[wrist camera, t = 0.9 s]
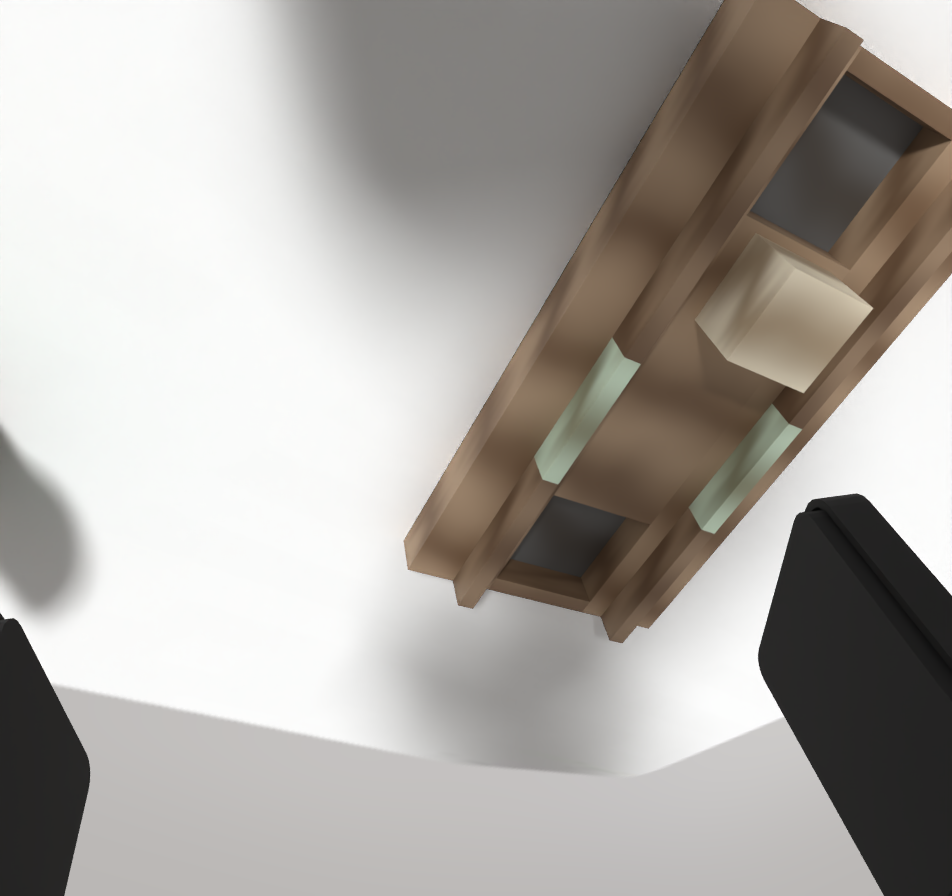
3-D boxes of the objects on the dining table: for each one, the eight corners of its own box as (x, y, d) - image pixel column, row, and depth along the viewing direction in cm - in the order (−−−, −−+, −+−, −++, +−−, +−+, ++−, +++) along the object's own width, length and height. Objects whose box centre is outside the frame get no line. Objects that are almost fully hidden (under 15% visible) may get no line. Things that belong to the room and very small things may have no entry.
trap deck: (740, -28, 35) (790, -11, 31) (1005, 153, 42) (1070, 184, 38) (403, 540, 51) (411, 594, 47) (636, 601, 58) (658, 651, 54)
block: (755, 232, 39) (795, 268, 36) (829, 271, 41) (873, 308, 38) (694, 319, 41) (727, 360, 38) (767, 352, 43) (803, 393, 40)
